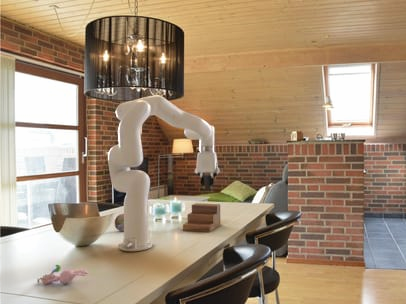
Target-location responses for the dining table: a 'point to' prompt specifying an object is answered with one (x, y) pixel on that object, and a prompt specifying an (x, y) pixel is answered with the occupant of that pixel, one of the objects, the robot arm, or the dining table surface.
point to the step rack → (203, 218)
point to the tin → (119, 222)
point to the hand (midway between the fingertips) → (207, 185)
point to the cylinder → (207, 182)
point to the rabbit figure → (61, 276)
